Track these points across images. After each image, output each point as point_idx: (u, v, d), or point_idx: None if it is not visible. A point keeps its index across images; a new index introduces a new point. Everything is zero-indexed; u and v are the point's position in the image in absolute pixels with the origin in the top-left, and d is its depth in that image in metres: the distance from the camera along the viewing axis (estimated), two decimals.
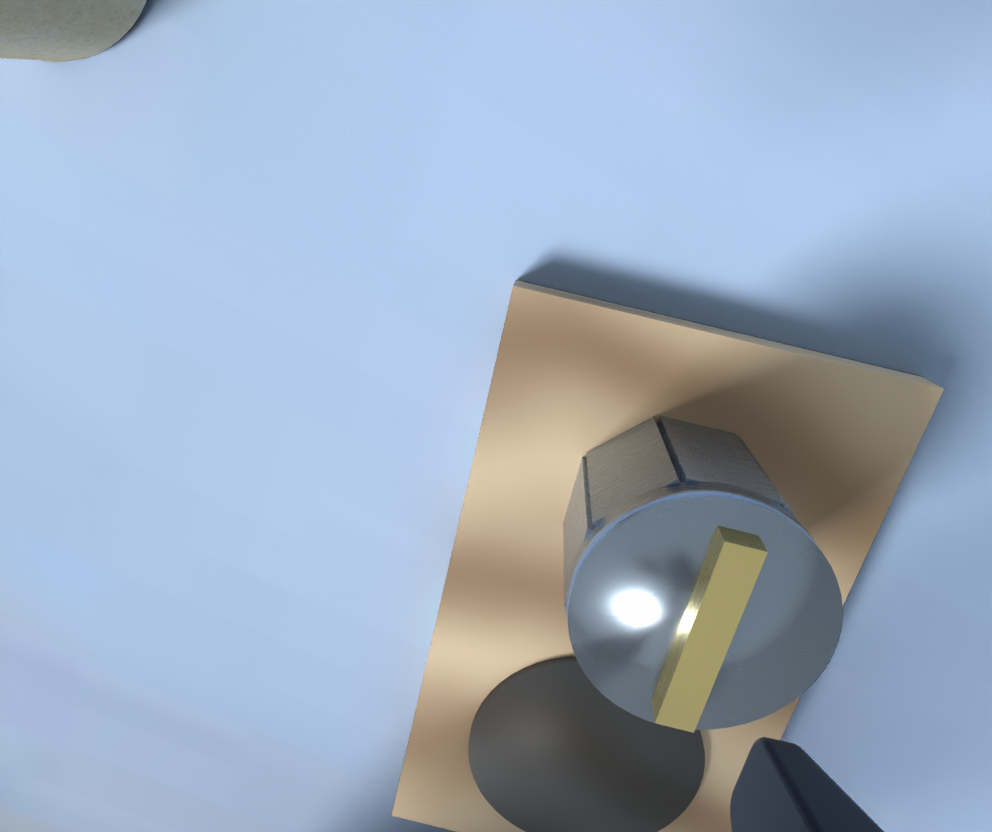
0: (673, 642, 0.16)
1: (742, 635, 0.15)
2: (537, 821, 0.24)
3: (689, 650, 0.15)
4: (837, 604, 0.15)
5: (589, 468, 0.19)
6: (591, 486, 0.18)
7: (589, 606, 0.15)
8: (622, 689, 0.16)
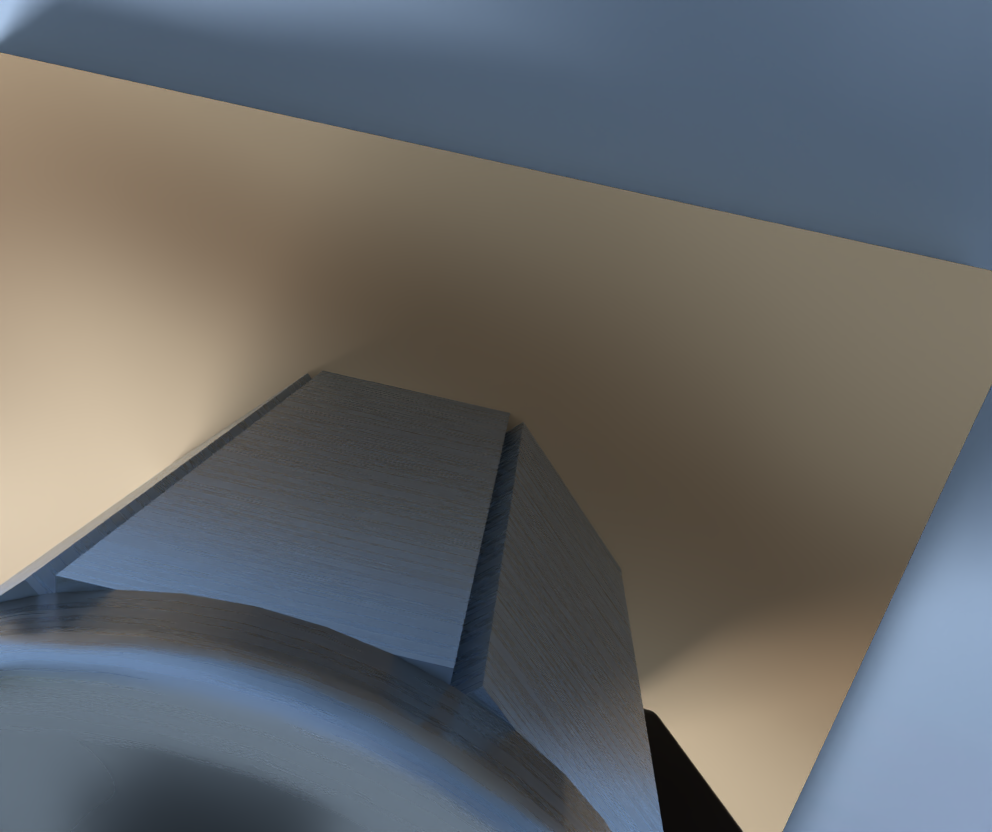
0: None
1: None
2: None
3: None
4: None
5: (109, 508, 0.07)
6: (25, 567, 0.06)
7: None
8: None
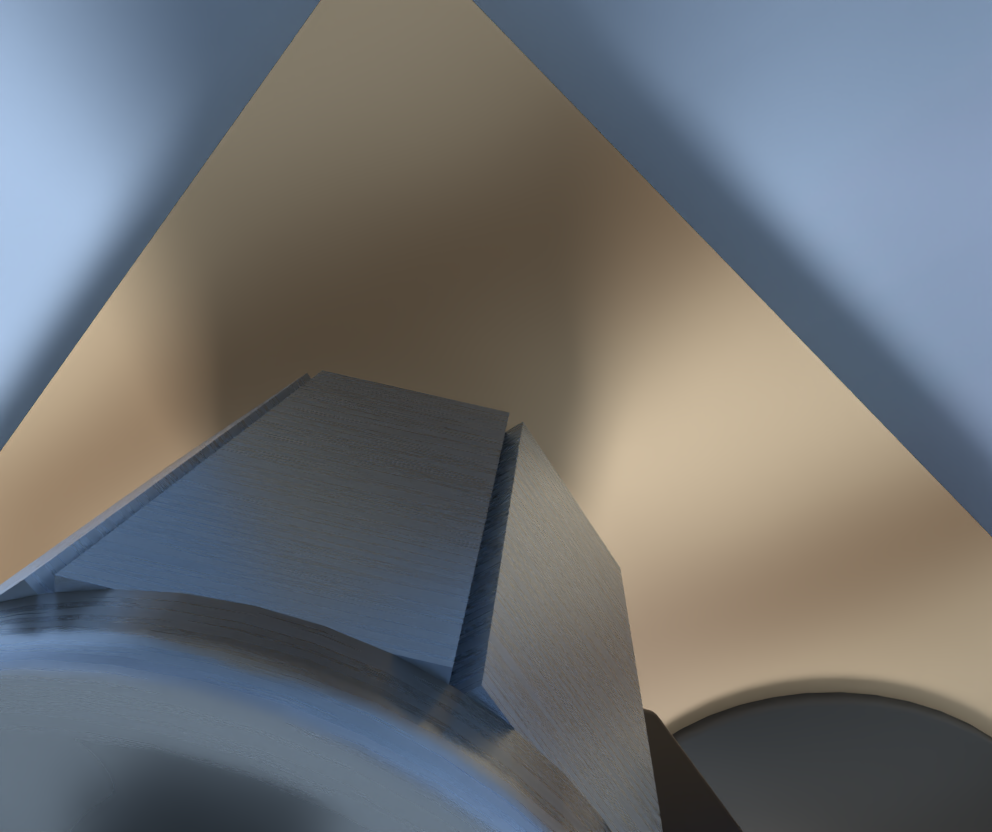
0: None
1: None
2: None
3: None
4: None
5: (109, 507, 0.07)
6: None
7: None
8: None
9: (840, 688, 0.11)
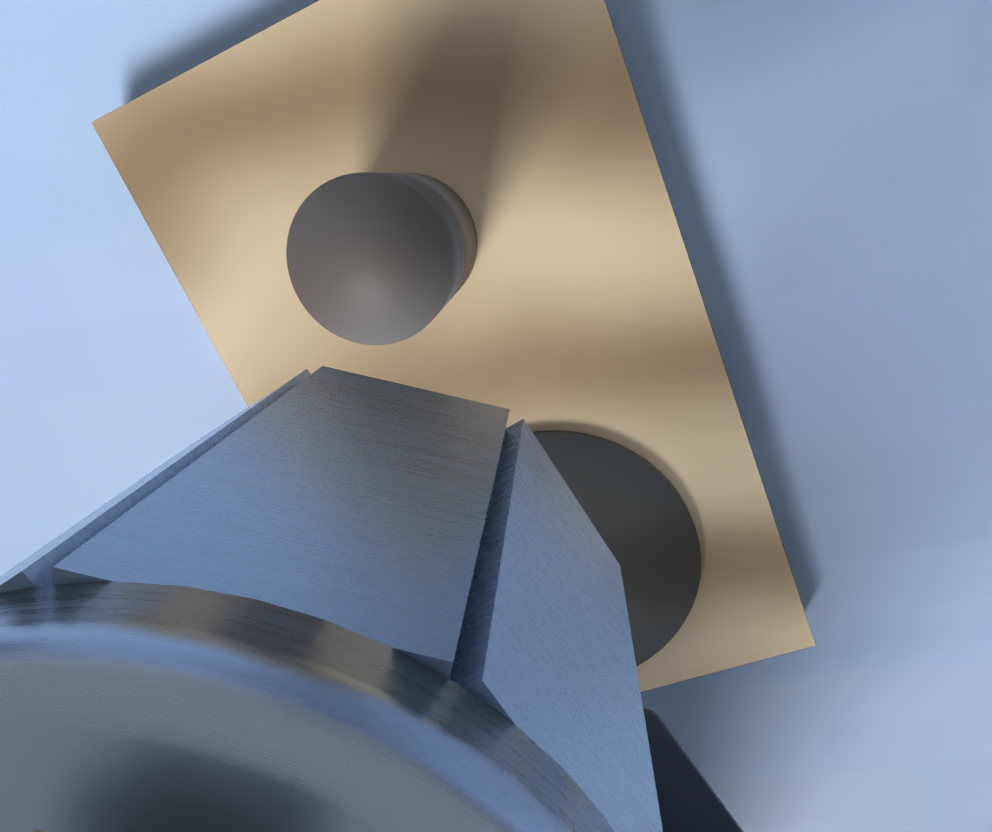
0: None
1: None
2: None
3: None
4: None
5: (107, 502, 0.07)
6: (22, 561, 0.06)
7: None
8: None
9: (615, 439, 0.18)
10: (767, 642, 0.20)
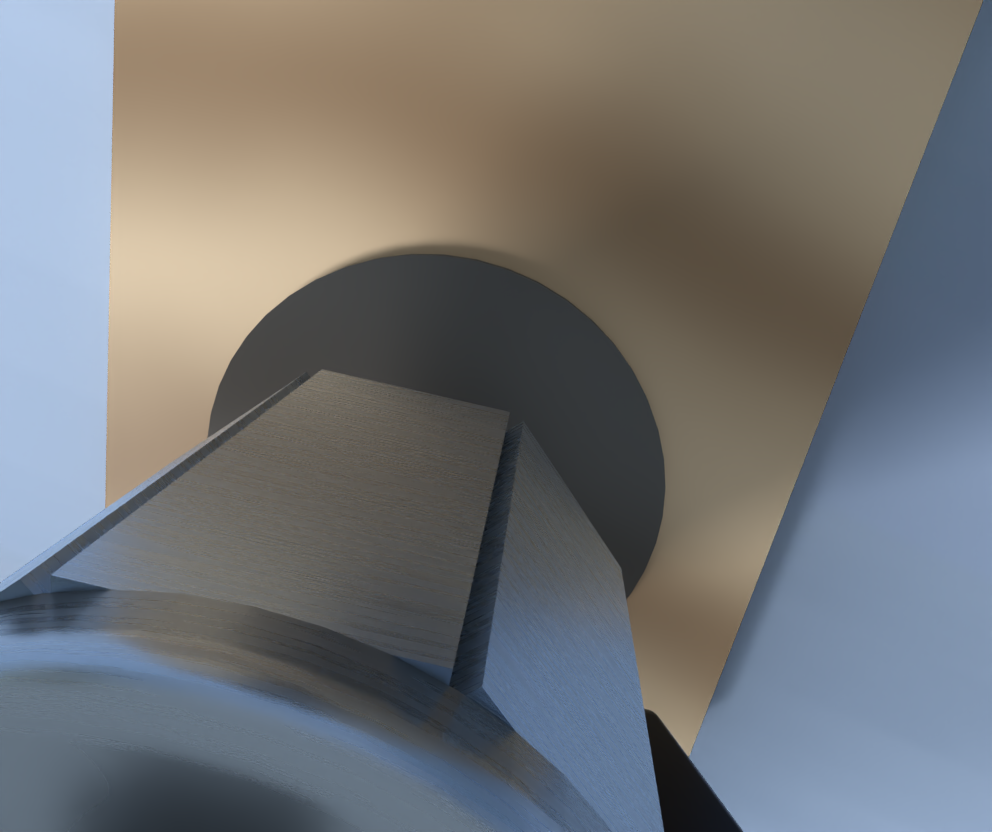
0: None
1: None
2: None
3: None
4: None
5: (107, 507, 0.07)
6: None
7: None
8: None
9: (636, 364, 0.11)
10: None
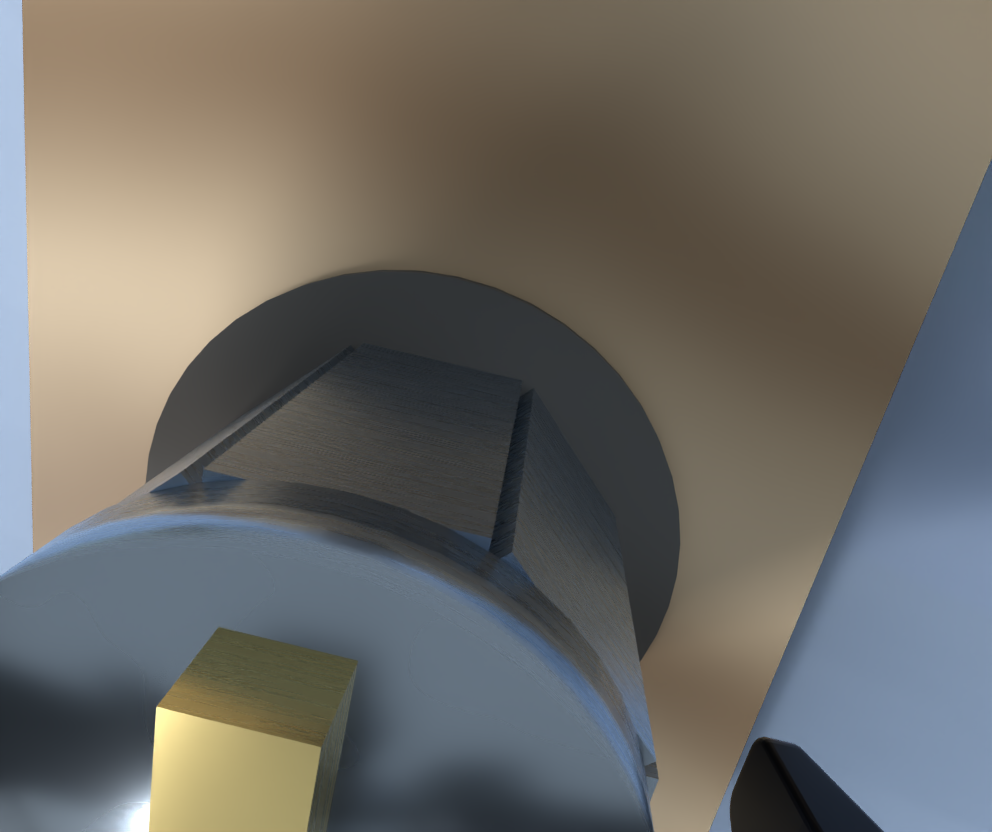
0: None
1: None
2: None
3: None
4: None
5: (187, 454, 0.09)
6: (130, 494, 0.07)
7: None
8: None
9: (646, 399, 0.09)
10: None
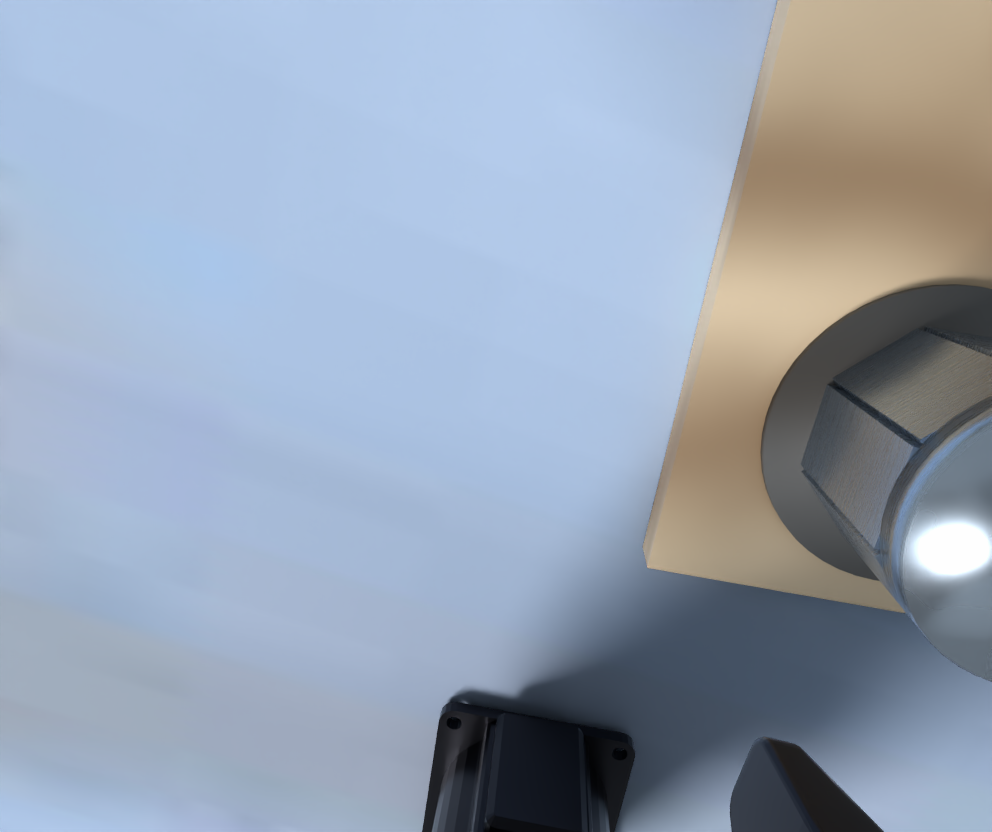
0: None
1: None
2: (852, 549, 0.18)
3: None
4: None
5: (855, 391, 0.16)
6: (878, 406, 0.15)
7: (934, 540, 0.12)
8: (967, 644, 0.13)
9: None
10: None
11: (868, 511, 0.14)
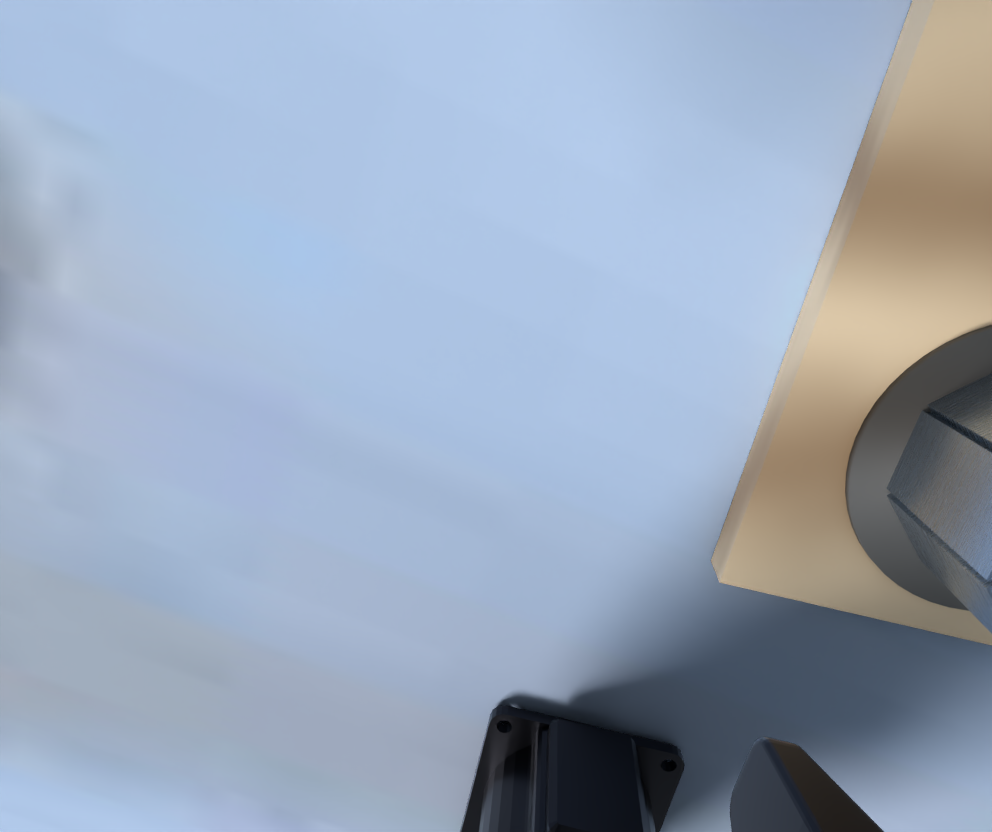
0: None
1: None
2: (929, 575, 0.18)
3: None
4: None
5: (958, 419, 0.16)
6: (989, 437, 0.15)
7: None
8: None
9: None
10: None
11: (978, 542, 0.14)
